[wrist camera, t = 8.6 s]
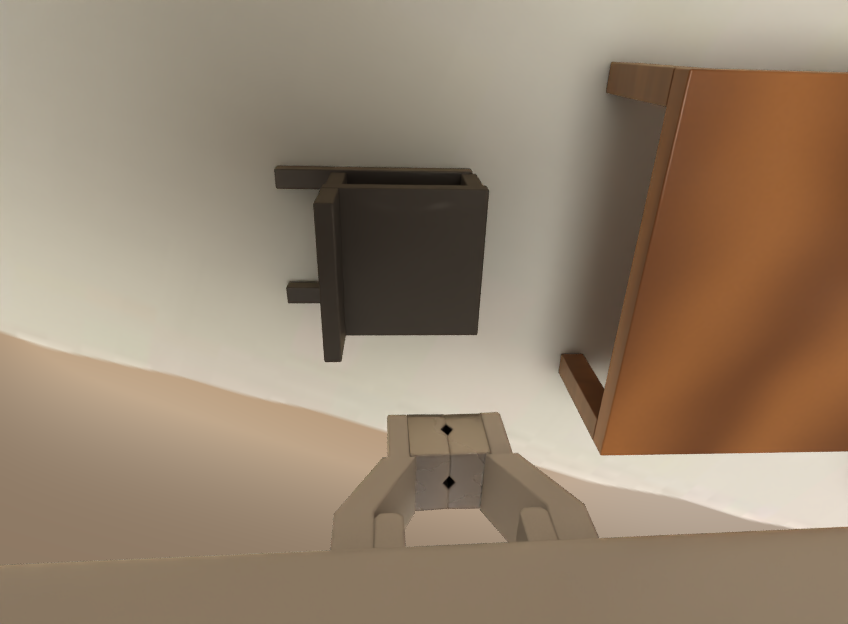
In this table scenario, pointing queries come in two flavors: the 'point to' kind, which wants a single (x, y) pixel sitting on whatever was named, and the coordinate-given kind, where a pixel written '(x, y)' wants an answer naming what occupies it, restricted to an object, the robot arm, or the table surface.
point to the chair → (393, 250)
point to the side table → (732, 271)
